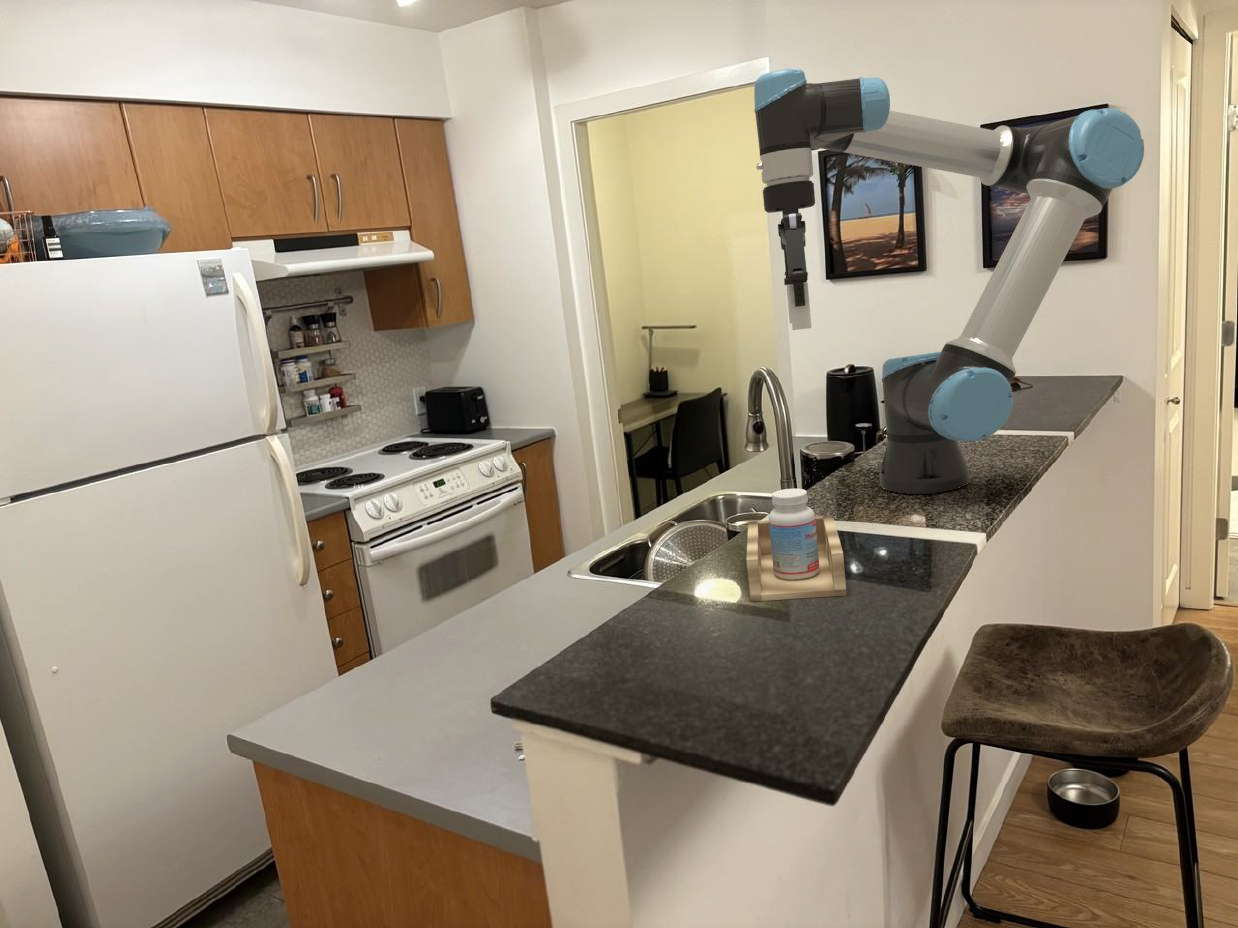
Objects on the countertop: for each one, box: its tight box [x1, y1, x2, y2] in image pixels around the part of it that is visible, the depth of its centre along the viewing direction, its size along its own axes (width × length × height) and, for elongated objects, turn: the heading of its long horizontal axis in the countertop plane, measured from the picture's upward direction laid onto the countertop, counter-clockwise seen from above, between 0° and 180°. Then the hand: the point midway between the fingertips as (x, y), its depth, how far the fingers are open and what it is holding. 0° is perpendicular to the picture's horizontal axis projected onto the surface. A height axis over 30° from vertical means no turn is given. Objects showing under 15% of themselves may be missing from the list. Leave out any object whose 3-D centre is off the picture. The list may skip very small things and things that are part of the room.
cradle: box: [746, 514, 847, 602], centre depth 125 cm, size 18×12×6 cm
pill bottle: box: [768, 488, 819, 580], centre depth 123 cm, size 6×6×11 cm
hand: (800, 326), depth 141 cm, fingers open, 13 cm apart
